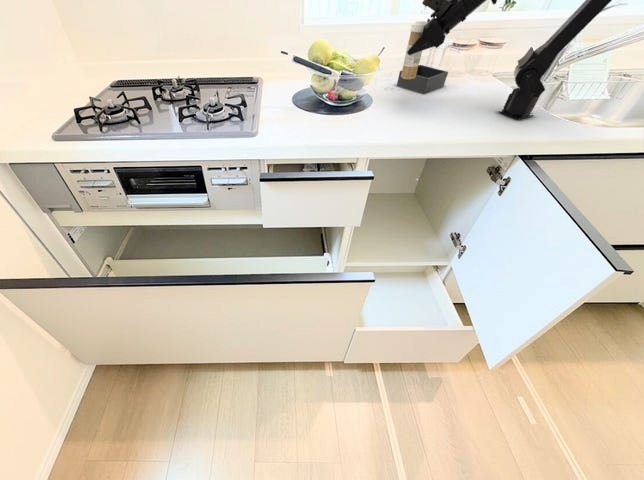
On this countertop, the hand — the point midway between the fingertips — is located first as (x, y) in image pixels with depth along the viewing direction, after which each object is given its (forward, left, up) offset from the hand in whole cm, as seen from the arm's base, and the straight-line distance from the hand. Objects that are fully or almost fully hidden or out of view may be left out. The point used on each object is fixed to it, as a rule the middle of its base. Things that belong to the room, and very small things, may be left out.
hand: (409, 51), depth 95 cm
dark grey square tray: (+7, -15, -13) cm, 22 cm away
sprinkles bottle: (-1, -1, -7) cm, 7 cm away
